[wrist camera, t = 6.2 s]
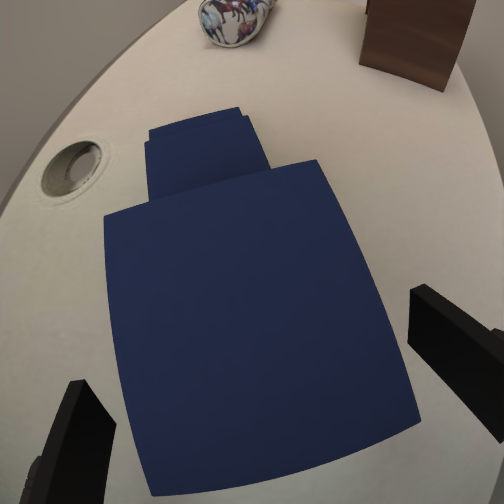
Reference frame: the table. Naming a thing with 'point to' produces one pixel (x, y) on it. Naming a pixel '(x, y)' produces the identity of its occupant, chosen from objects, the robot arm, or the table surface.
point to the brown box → (415, 38)
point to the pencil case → (233, 20)
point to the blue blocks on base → (245, 316)
